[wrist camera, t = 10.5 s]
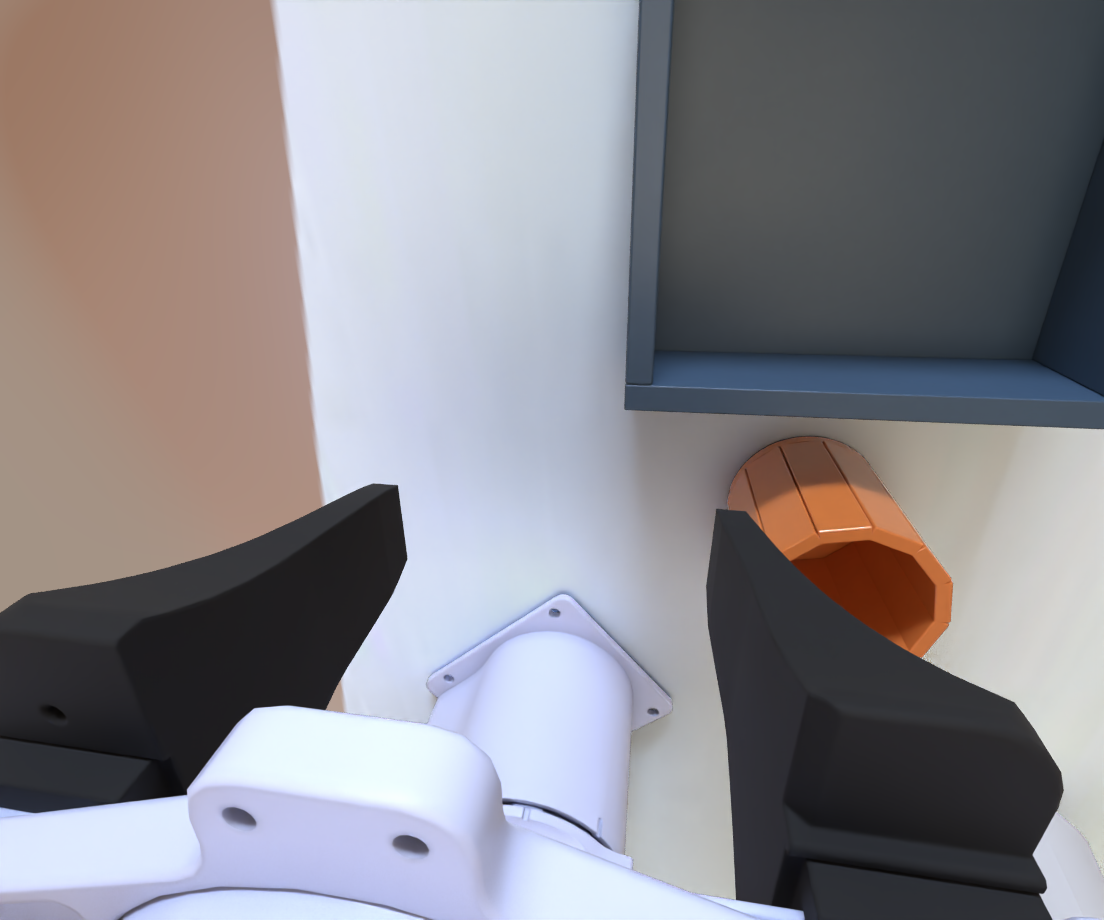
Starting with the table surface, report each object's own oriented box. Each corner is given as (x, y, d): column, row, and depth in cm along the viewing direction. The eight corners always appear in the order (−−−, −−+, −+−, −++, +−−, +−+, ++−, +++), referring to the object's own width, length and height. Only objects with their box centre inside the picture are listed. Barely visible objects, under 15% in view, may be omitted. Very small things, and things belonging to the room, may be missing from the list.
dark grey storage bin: (1041, 379, 20) (1134, 431, 16) (630, 367, 22) (624, 410, 18) (1227, -169, 15) (1444, -299, 11) (649, -119, 17) (646, -211, 13)
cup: (779, 583, 25) (814, 706, 19) (698, 489, 24) (711, 590, 18) (907, 514, 23) (990, 629, 17) (826, 407, 22) (885, 492, 16)
